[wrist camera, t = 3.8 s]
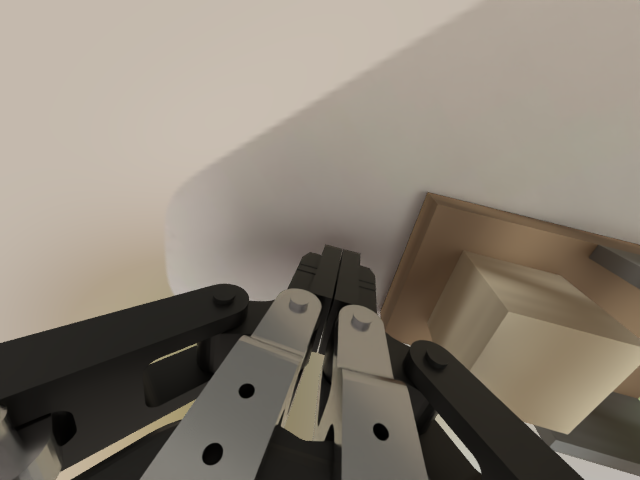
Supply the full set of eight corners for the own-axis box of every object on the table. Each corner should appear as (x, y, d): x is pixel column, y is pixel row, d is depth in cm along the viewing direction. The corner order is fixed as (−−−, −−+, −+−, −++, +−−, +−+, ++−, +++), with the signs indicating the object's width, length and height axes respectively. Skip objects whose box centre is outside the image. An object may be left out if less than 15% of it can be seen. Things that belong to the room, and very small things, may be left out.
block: (427, 322, 13) (450, 400, 9) (463, 250, 11) (508, 311, 8) (510, 345, 13) (567, 434, 9) (560, 275, 11) (654, 350, 7)
